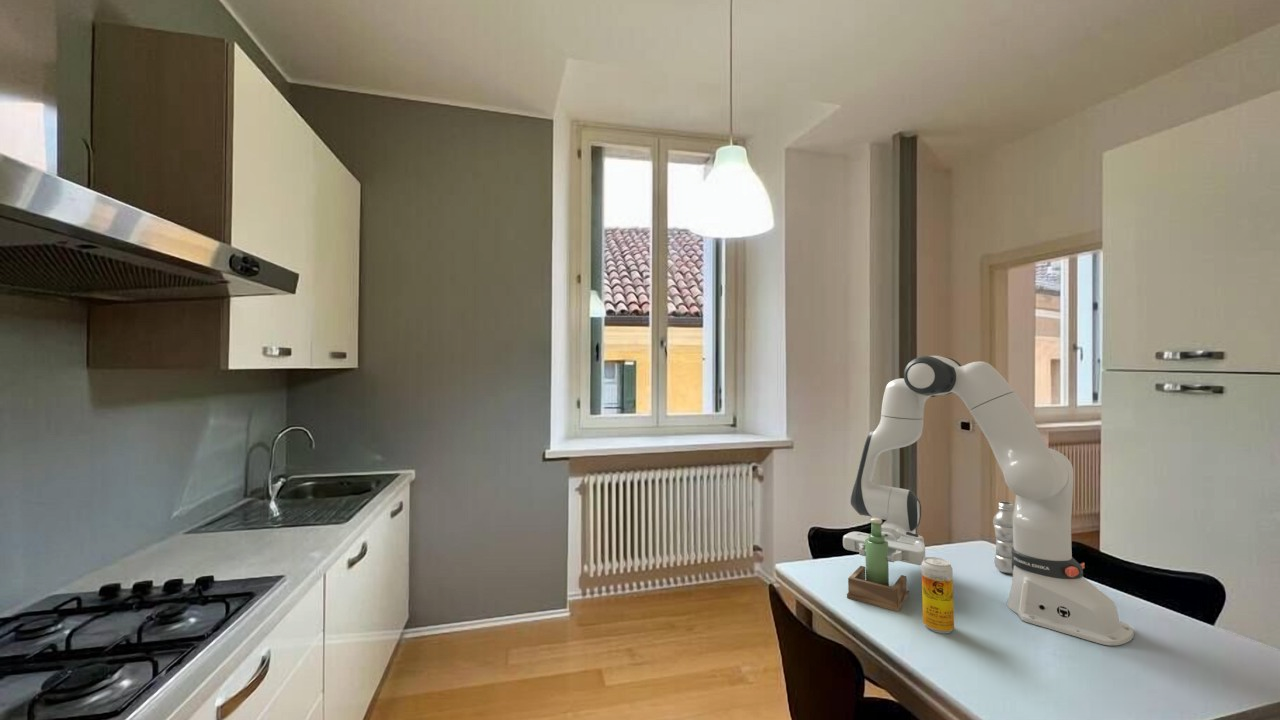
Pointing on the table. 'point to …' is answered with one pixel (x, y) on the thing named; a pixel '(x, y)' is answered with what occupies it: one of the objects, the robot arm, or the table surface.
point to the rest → (877, 591)
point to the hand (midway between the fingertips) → (875, 555)
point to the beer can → (937, 594)
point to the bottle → (876, 555)
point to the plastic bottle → (1004, 536)
